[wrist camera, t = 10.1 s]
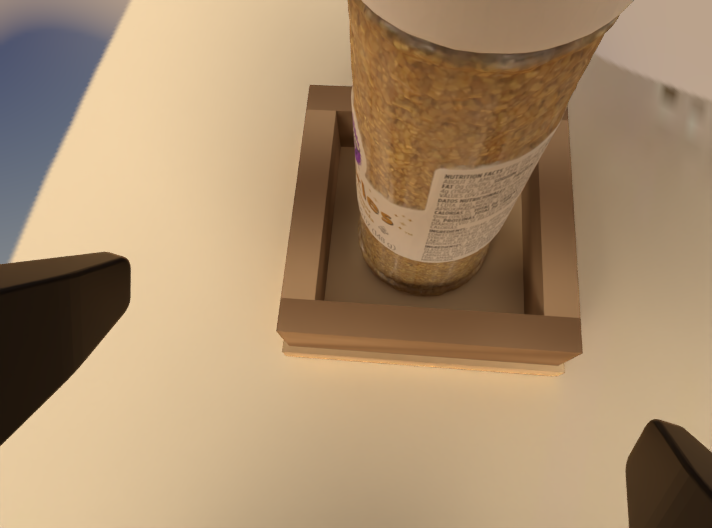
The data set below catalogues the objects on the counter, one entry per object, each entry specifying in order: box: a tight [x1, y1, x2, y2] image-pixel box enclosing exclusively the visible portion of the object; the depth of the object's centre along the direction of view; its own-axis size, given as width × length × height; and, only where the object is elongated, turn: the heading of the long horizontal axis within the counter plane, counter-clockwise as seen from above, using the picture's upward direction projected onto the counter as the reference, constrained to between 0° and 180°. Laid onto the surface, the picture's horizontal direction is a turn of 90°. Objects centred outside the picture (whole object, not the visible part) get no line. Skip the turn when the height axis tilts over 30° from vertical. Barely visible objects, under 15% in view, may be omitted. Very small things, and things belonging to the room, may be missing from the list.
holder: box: [276, 85, 583, 376], centre depth 18 cm, size 9×9×3 cm
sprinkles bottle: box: [348, 0, 634, 296], centre depth 12 cm, size 5×5×13 cm
